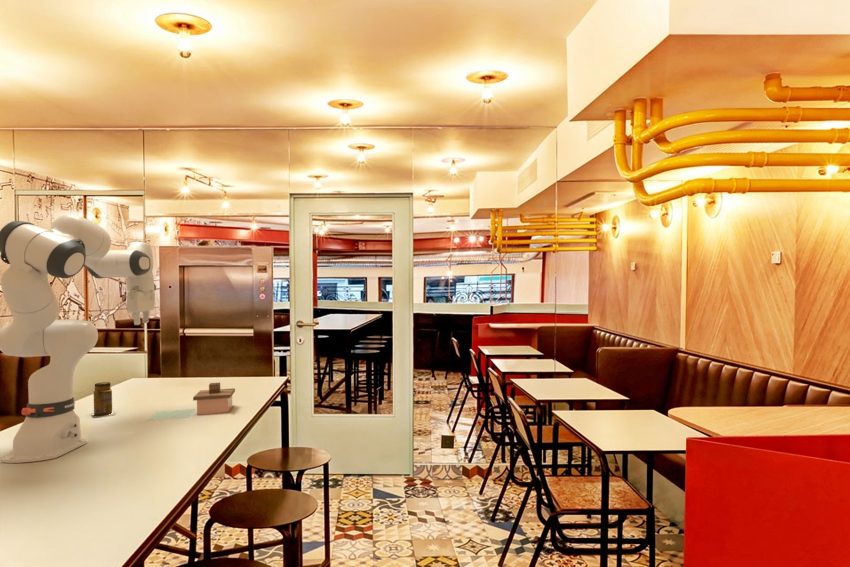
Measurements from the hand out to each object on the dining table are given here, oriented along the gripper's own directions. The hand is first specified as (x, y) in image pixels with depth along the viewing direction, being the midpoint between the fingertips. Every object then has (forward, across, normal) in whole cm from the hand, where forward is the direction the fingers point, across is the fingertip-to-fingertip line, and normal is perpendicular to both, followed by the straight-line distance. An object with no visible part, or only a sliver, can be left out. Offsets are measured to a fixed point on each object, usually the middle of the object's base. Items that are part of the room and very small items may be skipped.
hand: (141, 323), depth 194 cm
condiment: (+35, +13, +18) cm, 42 cm away
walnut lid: (+29, +5, -24) cm, 38 cm away
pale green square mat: (+35, +3, -9) cm, 36 cm away
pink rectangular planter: (+35, +5, -24) cm, 43 cm away
